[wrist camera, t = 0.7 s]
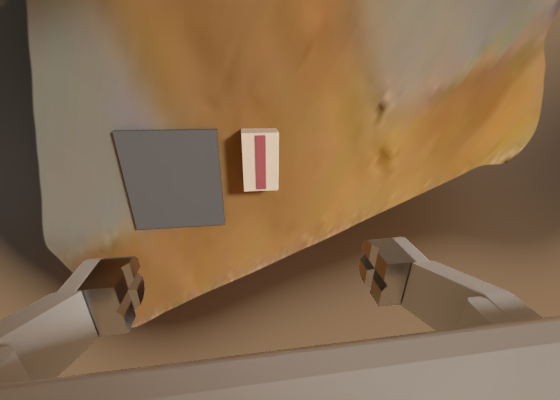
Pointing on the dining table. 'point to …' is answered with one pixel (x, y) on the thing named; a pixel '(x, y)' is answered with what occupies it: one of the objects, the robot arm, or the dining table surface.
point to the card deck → (260, 159)
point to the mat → (172, 177)
